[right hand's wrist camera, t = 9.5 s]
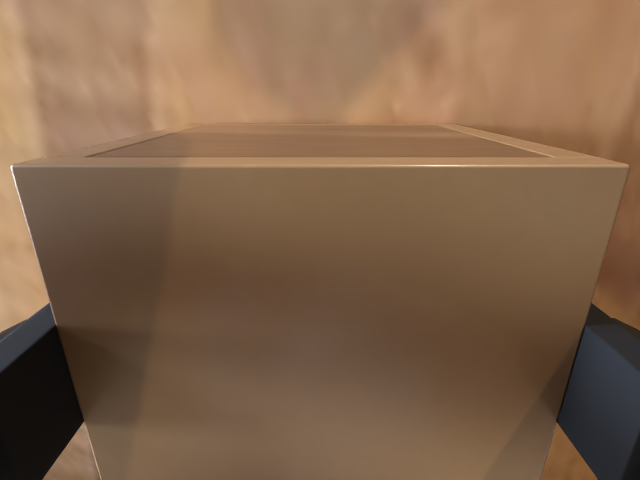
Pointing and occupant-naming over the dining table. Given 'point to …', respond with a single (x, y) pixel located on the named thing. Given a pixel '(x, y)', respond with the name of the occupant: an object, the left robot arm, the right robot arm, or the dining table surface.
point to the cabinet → (320, 297)
